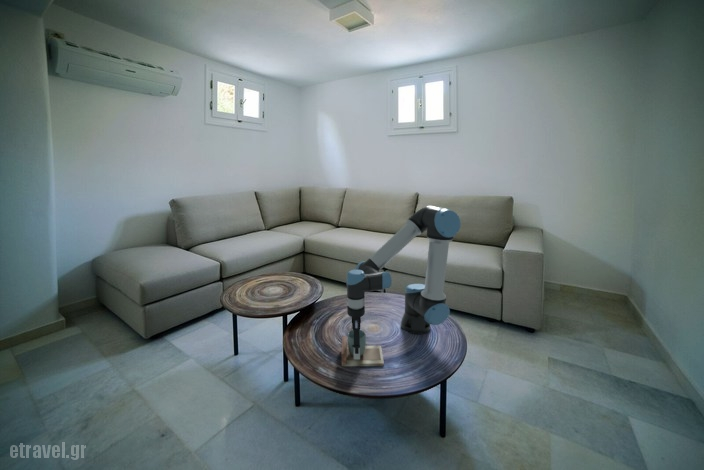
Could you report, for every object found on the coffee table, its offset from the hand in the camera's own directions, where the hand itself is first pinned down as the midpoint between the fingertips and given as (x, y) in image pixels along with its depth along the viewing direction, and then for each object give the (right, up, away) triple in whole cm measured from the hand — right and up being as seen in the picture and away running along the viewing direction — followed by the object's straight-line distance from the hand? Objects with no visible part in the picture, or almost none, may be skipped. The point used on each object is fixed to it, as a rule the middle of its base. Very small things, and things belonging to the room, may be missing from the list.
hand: (356, 349), depth 134 cm
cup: (0, -2, +1) cm, 3 cm away
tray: (+3, -4, +1) cm, 4 cm away
